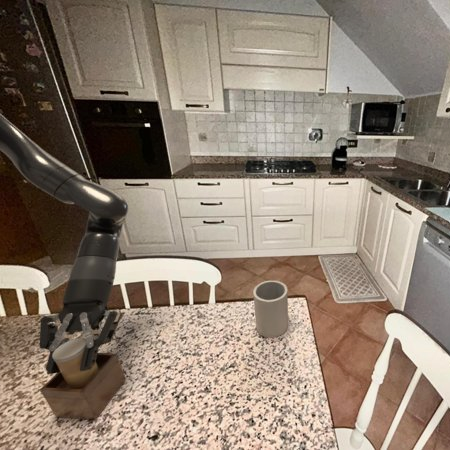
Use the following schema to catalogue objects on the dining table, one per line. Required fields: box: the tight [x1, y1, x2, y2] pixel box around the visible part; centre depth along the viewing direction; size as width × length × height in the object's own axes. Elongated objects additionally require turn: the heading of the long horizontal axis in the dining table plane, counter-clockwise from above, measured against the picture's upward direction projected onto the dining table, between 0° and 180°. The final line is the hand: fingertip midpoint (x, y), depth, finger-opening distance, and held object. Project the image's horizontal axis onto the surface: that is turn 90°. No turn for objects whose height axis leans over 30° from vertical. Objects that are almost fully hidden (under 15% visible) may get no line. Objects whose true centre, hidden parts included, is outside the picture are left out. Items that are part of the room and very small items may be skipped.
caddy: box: [39, 352, 127, 420], centre depth 50 cm, size 8×8×8 cm
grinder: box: [52, 337, 99, 389], centre depth 47 cm, size 5×5×8 cm
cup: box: [252, 280, 289, 338], centre depth 68 cm, size 9×9×12 cm
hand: (69, 371), depth 46 cm, fingers closed on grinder, 5 cm apart
